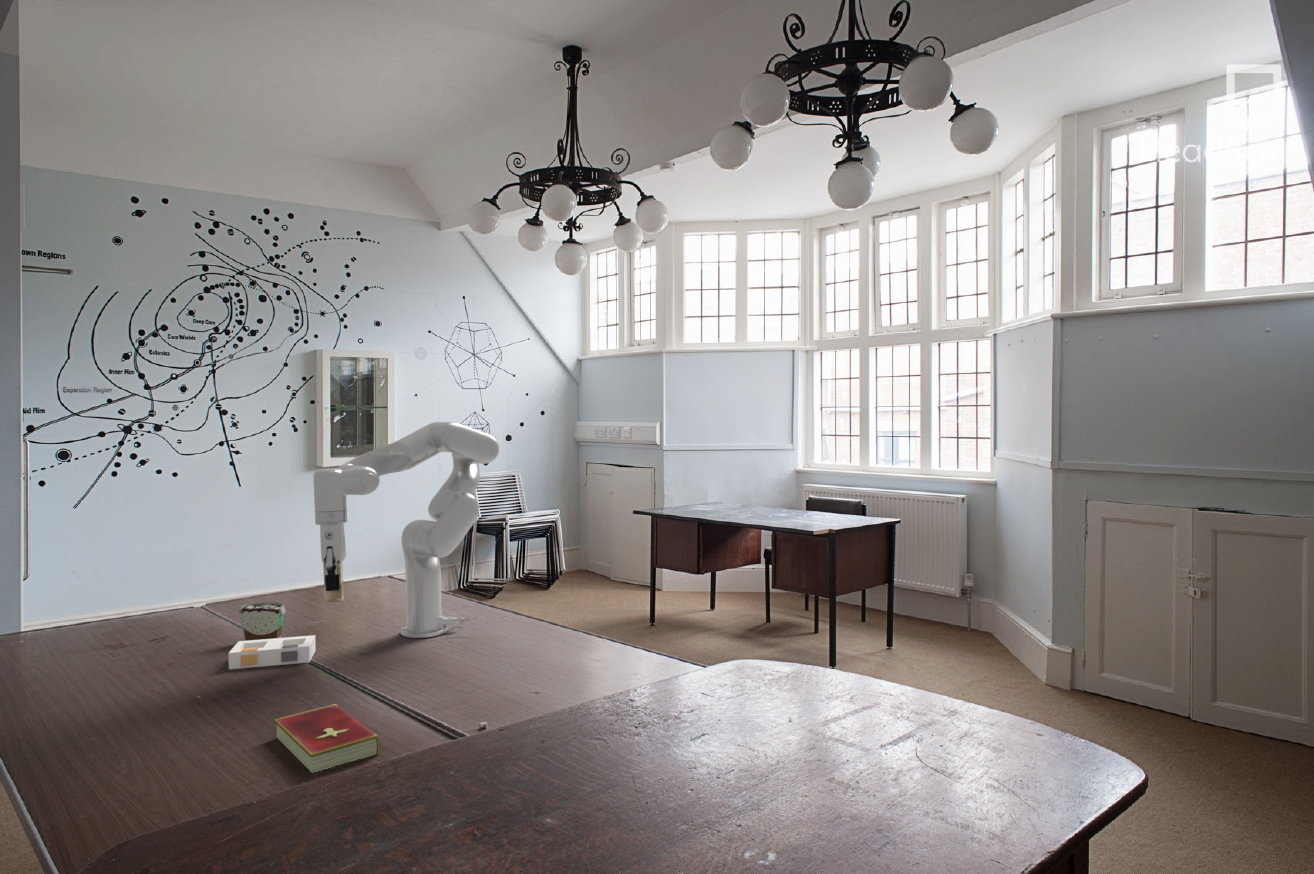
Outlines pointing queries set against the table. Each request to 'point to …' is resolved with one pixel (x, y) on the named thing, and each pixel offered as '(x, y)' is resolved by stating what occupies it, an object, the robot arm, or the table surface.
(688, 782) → the table surface
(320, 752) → the hardcover book
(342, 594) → the plug
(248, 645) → the socket block
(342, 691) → the table surface
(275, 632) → the food container
